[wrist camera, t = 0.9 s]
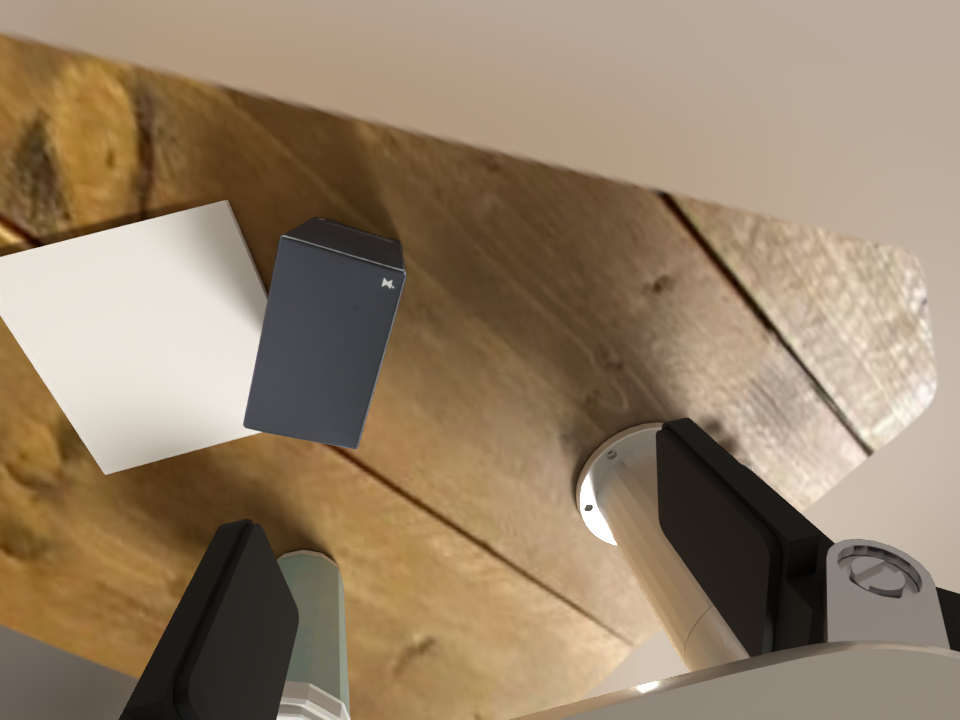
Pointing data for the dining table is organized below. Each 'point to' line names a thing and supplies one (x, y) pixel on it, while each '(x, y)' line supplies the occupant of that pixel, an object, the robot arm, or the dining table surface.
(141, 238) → the white mat
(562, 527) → the dining table surface
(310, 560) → the disposable coffee cup
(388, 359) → the dining table surface
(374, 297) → the small box
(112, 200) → the dining table surface
